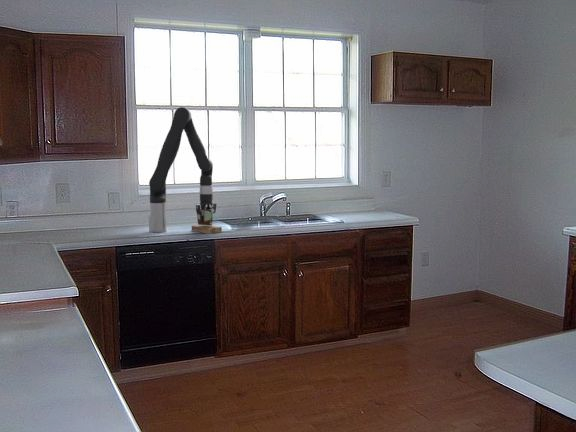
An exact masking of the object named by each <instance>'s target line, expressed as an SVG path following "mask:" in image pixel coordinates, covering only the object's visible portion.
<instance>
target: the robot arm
mask: <svg viewBox="0 0 576 432" xmlns="http://www.w3.org/2000/svg"><path fill="white" fill-rule="evenodd" d="M183 132H184V133H185V135H186V137H187V141H188V143H189V145H190V148H191V150H192V153H193V155H194V157H195V160H196V163H197V165H198V168H199V169H200V172H201V173H200V177H199V202H200V203H199V204H195V212H196V215H197V214H198V215H200V221H201V222H204V216H203V215H204V212H205V209H212V208H213V209H214V212H213V215H214V214H216V210H217V203H215V202H214V203H213V200H214V198H213V179H212V177H213V166H214V165H213V162H212V160H211V159H210V158H208V156H207V152H206V149H205V146H204V144H203V142H202V140H201V138H200V136H199V134H198V132H197V130H196V127H195V124H194V121H193V118H192V113H191V111H190V110H189V109H188V108H186V107H181V106H180V107H178V108H177V109H176V110H175V111H174V114H173V117H172V120H171V125H170V128H169V131H168V133H167V135H166V137H165V139H164V141H163V144H162V147H161V149H160V152H159V156H158V159H157V160H158V161H157V164H156V167H155V170H154V172H153V174H152V175H151V177H150V179H149V182H148V185H149V215H148V232H150V233H166V232H167V188H166V187H167V186H166V185H167V178H168V175H169V174H168V173H169V172H170V169H171V168H172V166H173V163H174V162H175V159H176V157H177V154H178V152H179V149H180V145H181V141H182V135H183ZM200 208H201V209H203V210H201V209H200Z"/></svg>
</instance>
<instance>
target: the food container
mask: <svg viewBox="0 0 576 432" xmlns="http://www.w3.org/2000/svg"><path fill="white" fill-rule="evenodd" d="M211 208H212V207H211ZM200 209H201V208H200ZM201 210H203V209H201ZM213 212H214V209H213V208H212V209H205V212H204V215H203V216H204V222H201V221H200V215H198V214H197V213H196V218H197V225H207V226H211V225H213V217H214V214H213Z"/></svg>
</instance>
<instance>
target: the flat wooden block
mask: <svg viewBox="0 0 576 432" xmlns="http://www.w3.org/2000/svg"><path fill="white" fill-rule="evenodd" d="M192 230H194V231H193V232H196V231H199V232H198V233H201V232H202V233H201V234H207V235H209V234H210V235H211V234H217V233H218V234H219V233H222V232H223V231H222V226H218V225H213V224H212V225H211V226H207V225H198V224H197V225H195V224H194V225H191V231H192Z"/></svg>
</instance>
